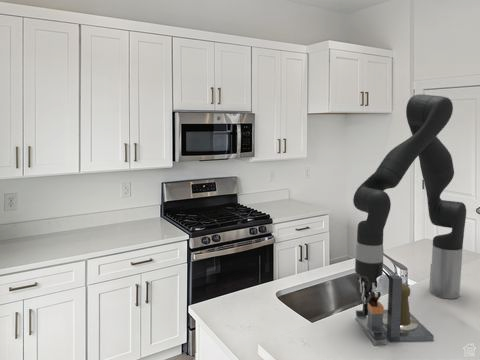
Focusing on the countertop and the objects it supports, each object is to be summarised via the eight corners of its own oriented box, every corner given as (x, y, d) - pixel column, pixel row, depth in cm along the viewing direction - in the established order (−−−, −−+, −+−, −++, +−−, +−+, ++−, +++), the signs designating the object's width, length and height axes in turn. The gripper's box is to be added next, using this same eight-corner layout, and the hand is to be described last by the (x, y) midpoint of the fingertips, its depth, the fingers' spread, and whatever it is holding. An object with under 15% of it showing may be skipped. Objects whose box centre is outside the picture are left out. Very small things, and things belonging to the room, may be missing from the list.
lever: (365, 327, 109) (366, 300, 108) (376, 327, 109) (377, 300, 108) (372, 336, 104) (373, 308, 103) (384, 336, 104) (385, 308, 103)
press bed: (368, 314, 121) (370, 259, 118) (406, 313, 121) (408, 258, 119) (390, 342, 105) (393, 278, 103) (433, 340, 105) (437, 277, 103)
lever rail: (355, 318, 118) (355, 310, 118) (365, 318, 118) (365, 310, 118) (374, 345, 103) (374, 336, 103) (385, 345, 103) (385, 335, 103)
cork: (404, 315, 116) (406, 280, 114) (414, 325, 110) (416, 288, 108) (384, 316, 116) (386, 281, 114) (393, 326, 110) (395, 289, 108)
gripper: (392, 265, 103) (389, 325, 106) (373, 249, 116) (371, 303, 119) (364, 266, 103) (362, 326, 105) (348, 250, 116) (347, 304, 118)
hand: (367, 314), depth 112 cm, fingers closed
